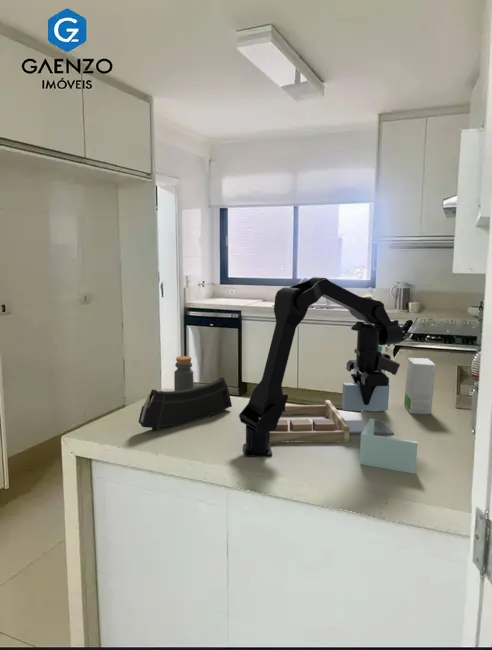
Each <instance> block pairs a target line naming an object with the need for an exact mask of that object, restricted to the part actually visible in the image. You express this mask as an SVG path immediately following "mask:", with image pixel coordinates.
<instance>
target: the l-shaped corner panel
mask: <svg viewBox="0 0 492 650" xmlns="http://www.w3.org/2000/svg"><path fill="white" fill-rule="evenodd" d="M374 420H375V419H374V418H369V421H368V423H367V425H366V426H365V428H364V430H363V432H362V433H361V435H360V444H359V445H360V447H359V448H360V449H359V464H360V465H365V466H370V467H375V468H376V467H377V468H382V469H386V470H387V469H388V470H393V471H398V472H404V473H408V474H416V472H417V461H418V460H417V459H418V458H417V456H418V443H419V442H418V441H415V440H409V439H408V440H407V439H404V438H402V439H401V438H396V437H388V436H383V435H374Z"/></svg>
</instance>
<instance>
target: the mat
mask: <svg viewBox="0 0 492 650" xmlns="http://www.w3.org/2000/svg"><path fill="white" fill-rule="evenodd" d="M344 420H345V419H344ZM345 421H346V422H347V424H348V425H349V426H350V429H349V436H355V435H356V436H357V435H359V436H361V433H362V432H363V430H364V428H365V426H366V425H367V423H368V421H369V420H368V419H367V420H366V419H362V420H358V419H357V420H355V419H354V420H353V419H352V420H350V419H349V420H345ZM374 435H377V436H381V435H395V434H394V432H393V430H391V428H390V427H389V426H387V424H385V422H384V421H383V420H382V419H380V420H379V419H374Z"/></svg>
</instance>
